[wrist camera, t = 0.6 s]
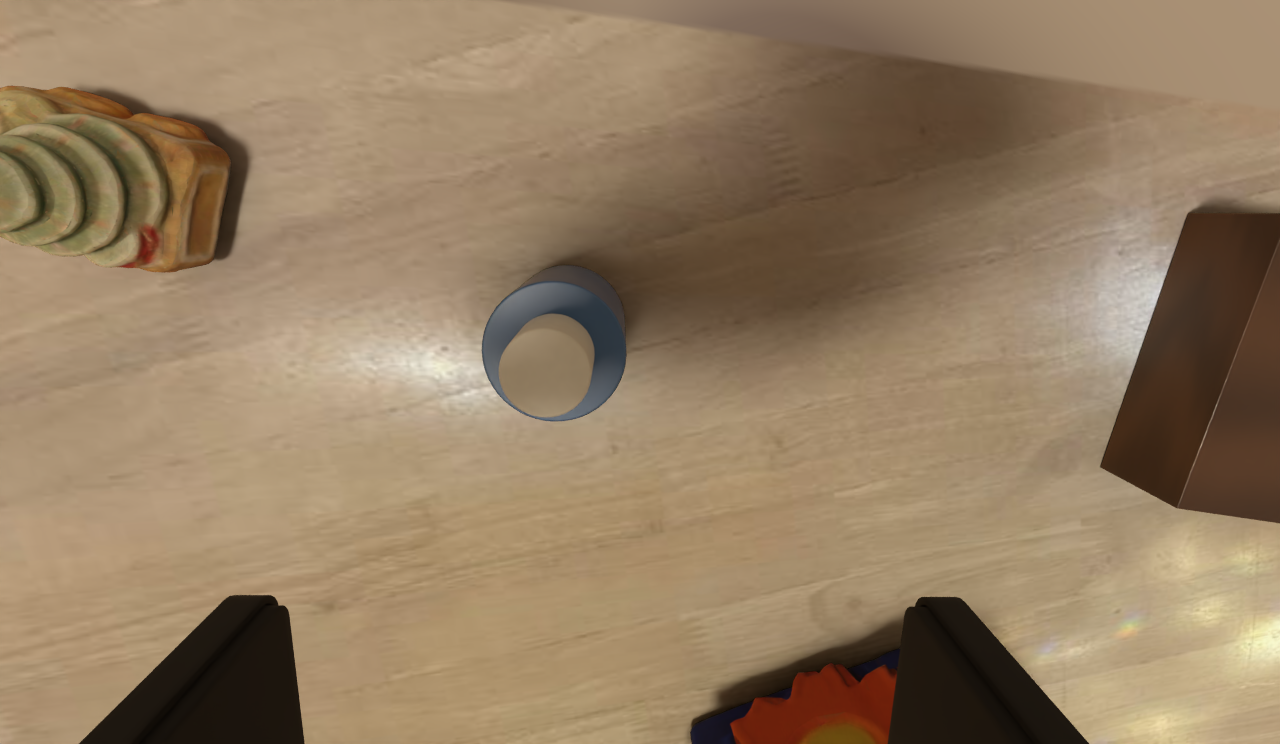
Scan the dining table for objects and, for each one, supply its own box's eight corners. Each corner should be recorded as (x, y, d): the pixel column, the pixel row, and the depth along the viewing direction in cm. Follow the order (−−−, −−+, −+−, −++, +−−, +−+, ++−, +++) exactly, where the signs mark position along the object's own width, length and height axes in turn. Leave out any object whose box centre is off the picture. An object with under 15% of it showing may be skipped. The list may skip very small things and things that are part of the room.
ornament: (41, 234, 28) (-271, 249, 18) (45, 81, 26) (-289, 7, 17) (235, 279, 28) (37, 315, 19) (250, 131, 27) (43, 88, 17)
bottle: (518, 256, 29) (470, 278, 19) (633, 274, 29) (639, 305, 20) (505, 367, 30) (453, 439, 20) (615, 384, 30) (614, 462, 21)
